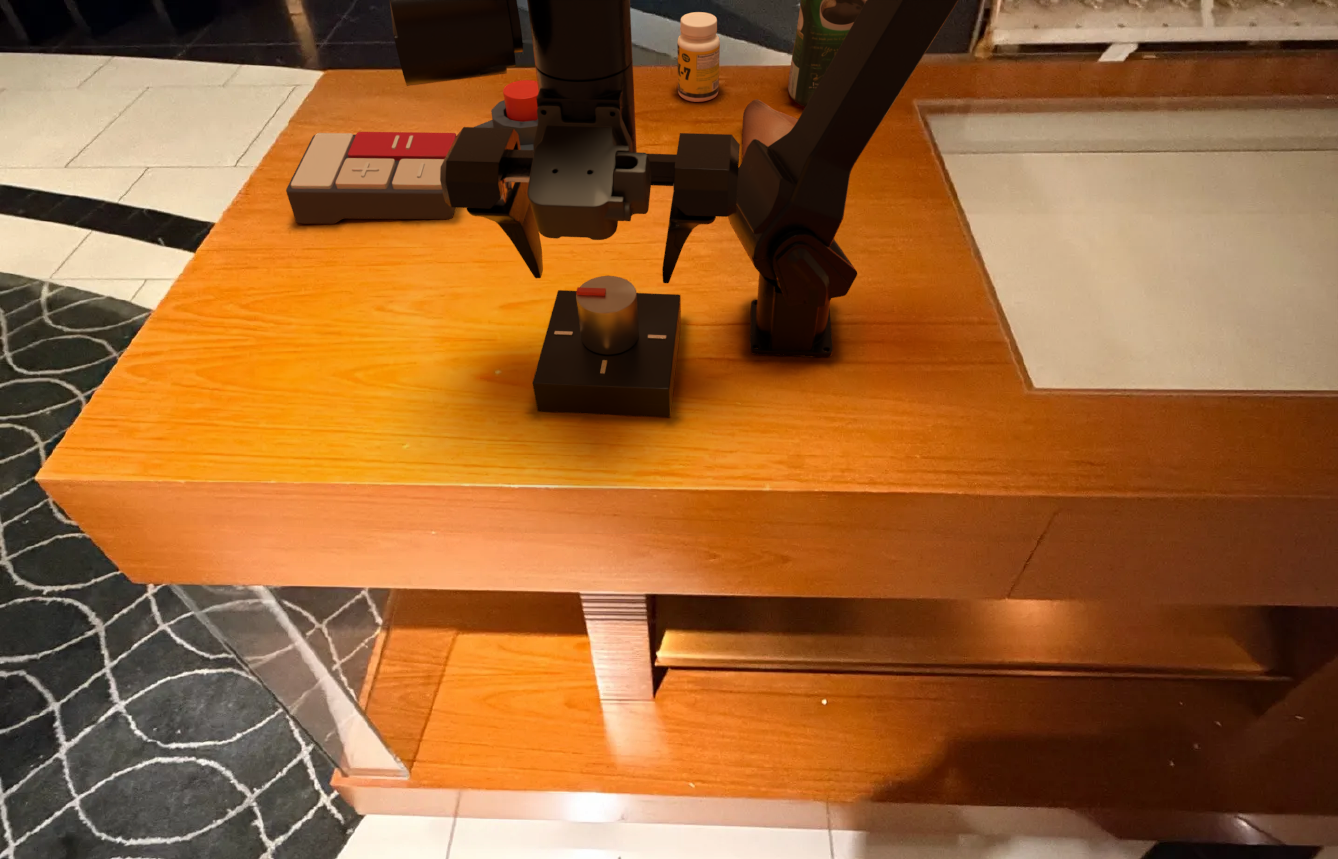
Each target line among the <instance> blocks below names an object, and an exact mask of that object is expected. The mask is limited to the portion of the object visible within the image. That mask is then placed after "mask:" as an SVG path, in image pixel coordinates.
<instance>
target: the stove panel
mask: <svg viewBox="0 0 1338 859" xmlns="http://www.w3.org/2000/svg"><path fill="white" fill-rule="evenodd" d="M576 291H577V290H566V289H565V290H564V289H563V290H562V289H559V290H557V293H556V296H555V300H554V303H553V307H552V310H551V314H550V318H549V322H548V324H547V329H546V333H545V336H544V339H543V343H542V346H541V347H542V348H541V350H540V354H539V358H538V361H537V365H536V369H535V373H534V375H533V379H532V389H533V394H534V398H535V404H536V411H537V412H541V413H542V412H543V413H563V414H565V413H566V414H582V415H583V414H584V415H585V414H586V415H607V416H627V417H650V418H671V413H672V406H673V394H674V387H675V377H676V370H677V361H678V352H679V342H680V335H681V325H682V313H681V312H682V310H681V309H682V308H681V307H682V306H681V305H682V304H681V302H682V301H681V299H682V298H681V294H680V293H679V294H678V293H677V294H674V293H651V292H649V293H648V292H646V293H645V292H636V293H637V310H638V327H639V337H638V340H637V342H636V343H635V344H634V346H632V347H631V348H630V349H628V350H626V351H624V352H622V353H618V354H611V355H606V354H599V353H595V352H593V351H591V350H589V349H588V348H587V347H586V346H585V345H584V344H583V342H582V339H581V331H580V323H579V315H578V307H577V298H576V295H577V293H576Z"/></svg>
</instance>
